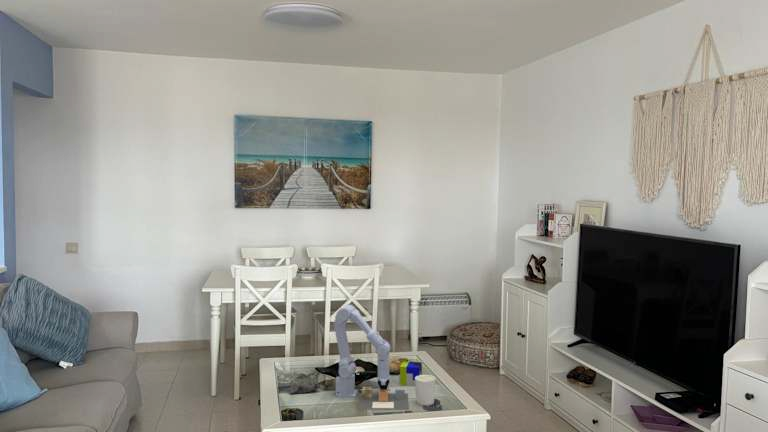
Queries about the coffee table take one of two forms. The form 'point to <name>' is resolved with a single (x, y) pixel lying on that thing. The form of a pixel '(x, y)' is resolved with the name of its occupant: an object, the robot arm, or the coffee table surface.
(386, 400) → the terracotta block
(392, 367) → the nautilus
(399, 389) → the slate block
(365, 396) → the beech block
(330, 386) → the coffee table surface
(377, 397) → the mat
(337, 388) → the robot arm
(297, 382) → the mineral rock
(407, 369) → the puzzle toy
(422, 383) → the candle holder
